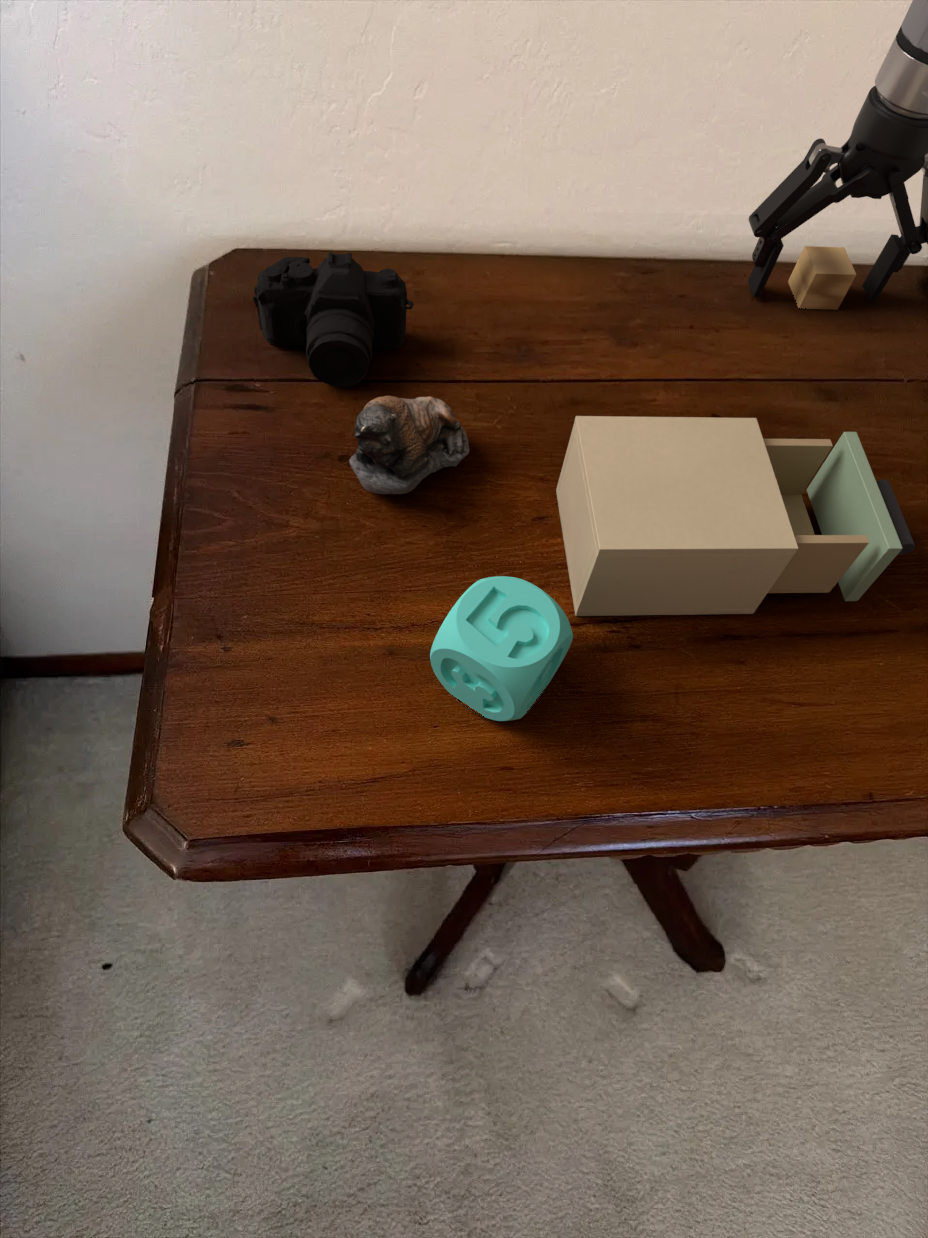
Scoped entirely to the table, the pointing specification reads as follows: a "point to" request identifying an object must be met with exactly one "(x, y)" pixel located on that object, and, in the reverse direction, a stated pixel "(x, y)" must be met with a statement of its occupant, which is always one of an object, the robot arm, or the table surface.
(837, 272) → the block
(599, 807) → the table surface
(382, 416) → the bison figurine
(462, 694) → the decorative dice
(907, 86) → the robot arm
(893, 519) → the drawer
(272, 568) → the table surface
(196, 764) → the table surface
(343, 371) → the film camera
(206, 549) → the table surface
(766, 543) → the cabinet
